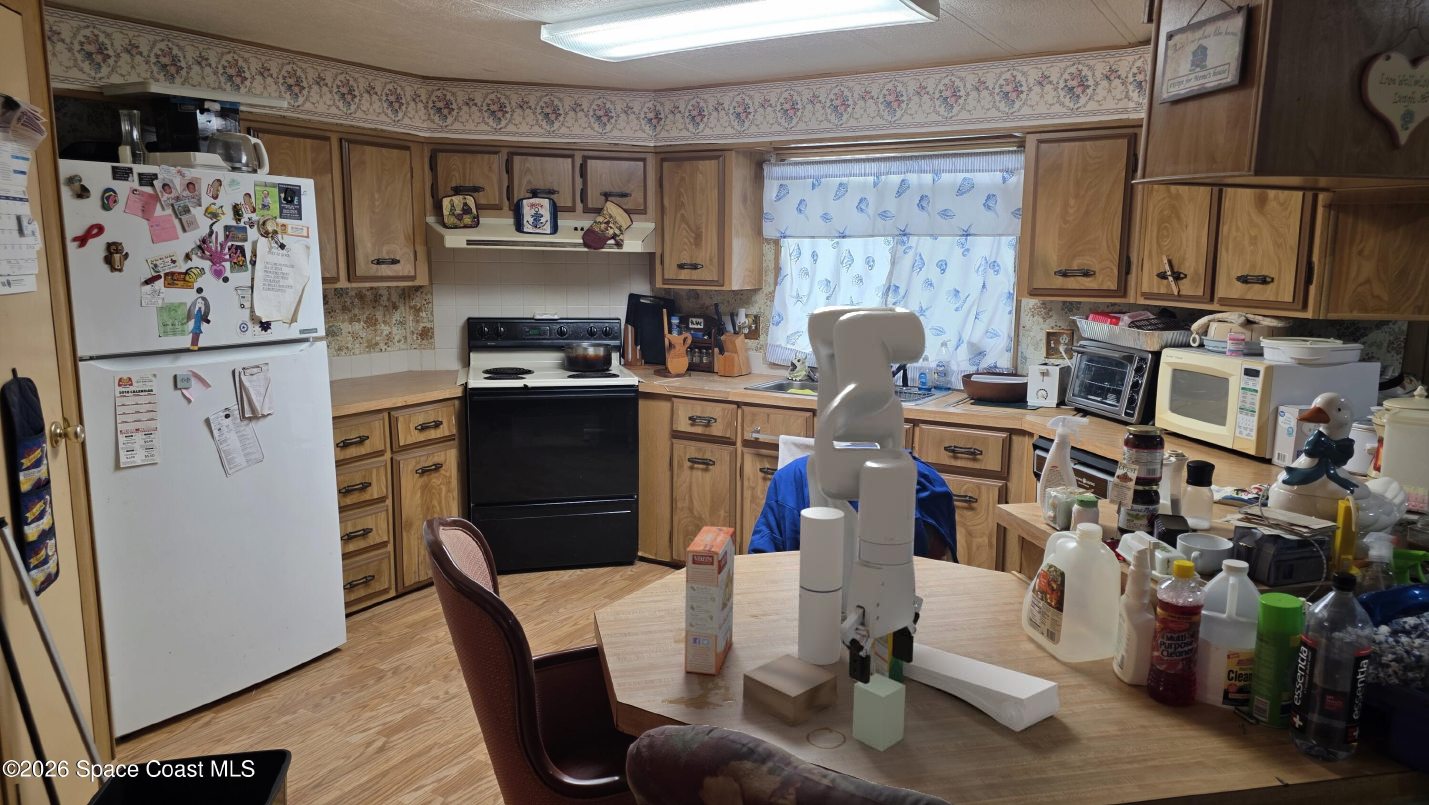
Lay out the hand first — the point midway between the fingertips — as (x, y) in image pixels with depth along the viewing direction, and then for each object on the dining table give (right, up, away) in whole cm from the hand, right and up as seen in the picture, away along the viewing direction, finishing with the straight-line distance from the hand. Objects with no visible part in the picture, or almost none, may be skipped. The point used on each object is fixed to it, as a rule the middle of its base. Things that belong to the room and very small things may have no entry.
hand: (881, 669), depth 124 cm
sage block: (0, -10, +2) cm, 10 cm away
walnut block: (-12, -9, +12) cm, 19 cm away
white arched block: (+16, -9, +17) cm, 25 cm away
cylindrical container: (-5, -6, +28) cm, 29 cm away
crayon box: (+4, -7, +21) cm, 23 cm away
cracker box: (-24, -6, +28) cm, 37 cm away
